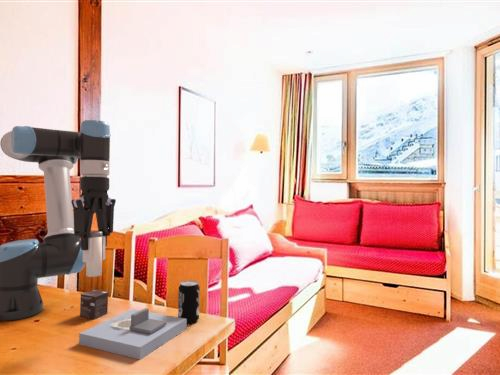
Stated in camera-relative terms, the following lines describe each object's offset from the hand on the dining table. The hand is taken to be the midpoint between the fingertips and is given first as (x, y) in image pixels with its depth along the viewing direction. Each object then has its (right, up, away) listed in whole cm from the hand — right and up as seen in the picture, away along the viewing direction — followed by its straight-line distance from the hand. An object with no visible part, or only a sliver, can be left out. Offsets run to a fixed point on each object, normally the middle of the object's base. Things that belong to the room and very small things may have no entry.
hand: (94, 260), depth 101 cm
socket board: (+11, -22, +1) cm, 24 cm away
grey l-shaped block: (+15, -18, 0) cm, 24 cm away
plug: (0, -4, 0) cm, 4 cm away
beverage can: (+24, -22, +14) cm, 35 cm away
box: (-7, -22, +17) cm, 28 cm away
